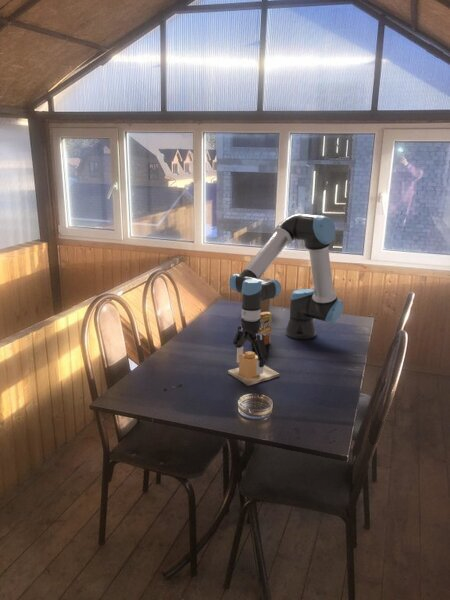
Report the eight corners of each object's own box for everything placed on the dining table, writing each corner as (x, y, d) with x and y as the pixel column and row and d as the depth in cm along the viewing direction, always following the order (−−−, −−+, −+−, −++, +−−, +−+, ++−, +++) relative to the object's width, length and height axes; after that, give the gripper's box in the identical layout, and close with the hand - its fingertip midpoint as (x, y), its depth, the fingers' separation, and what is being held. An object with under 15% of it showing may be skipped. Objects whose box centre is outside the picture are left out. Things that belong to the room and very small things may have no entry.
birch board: (258, 364, 216) (258, 350, 214) (279, 376, 205) (279, 361, 203) (228, 373, 207) (228, 358, 205) (248, 385, 196) (248, 370, 194)
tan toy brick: (250, 370, 207) (251, 349, 205) (259, 375, 202) (260, 354, 200) (238, 373, 204) (239, 352, 201) (247, 378, 199) (248, 357, 197)
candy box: (254, 346, 236) (255, 315, 231) (250, 343, 239) (251, 313, 235) (270, 343, 239) (271, 313, 235) (266, 340, 243) (267, 310, 239)
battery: (265, 356, 224) (266, 336, 221) (251, 354, 227) (252, 333, 224) (268, 353, 228) (269, 333, 225) (255, 350, 230) (255, 330, 228)
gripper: (225, 311, 204) (224, 359, 210) (263, 329, 184) (261, 381, 190) (240, 308, 208) (239, 355, 214) (278, 325, 188) (276, 376, 194)
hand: (249, 367), depth 202 cm, fingers open, 13 cm apart
